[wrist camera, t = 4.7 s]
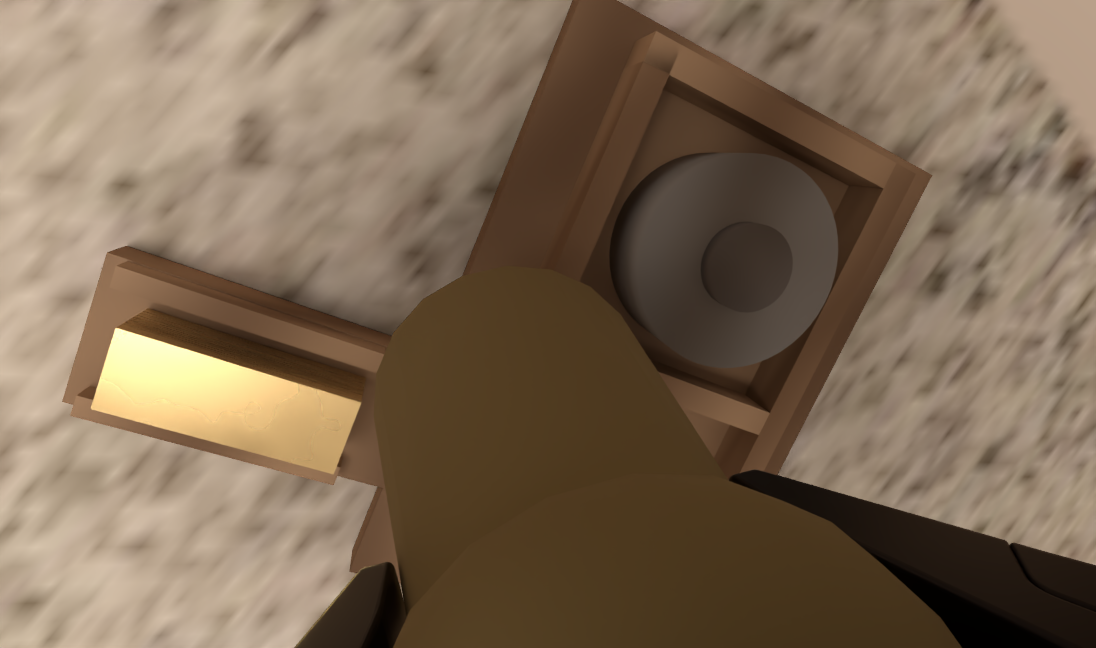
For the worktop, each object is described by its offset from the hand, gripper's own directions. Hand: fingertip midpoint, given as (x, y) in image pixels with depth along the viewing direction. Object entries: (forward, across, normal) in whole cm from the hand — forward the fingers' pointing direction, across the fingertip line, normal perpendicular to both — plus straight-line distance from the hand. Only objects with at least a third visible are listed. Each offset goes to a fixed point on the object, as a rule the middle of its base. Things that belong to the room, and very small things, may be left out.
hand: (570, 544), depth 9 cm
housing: (+12, -1, 0) cm, 12 cm away
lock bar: (+11, +7, 0) cm, 13 cm away
